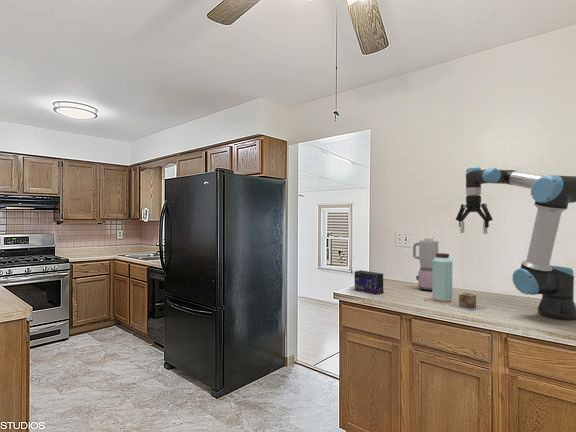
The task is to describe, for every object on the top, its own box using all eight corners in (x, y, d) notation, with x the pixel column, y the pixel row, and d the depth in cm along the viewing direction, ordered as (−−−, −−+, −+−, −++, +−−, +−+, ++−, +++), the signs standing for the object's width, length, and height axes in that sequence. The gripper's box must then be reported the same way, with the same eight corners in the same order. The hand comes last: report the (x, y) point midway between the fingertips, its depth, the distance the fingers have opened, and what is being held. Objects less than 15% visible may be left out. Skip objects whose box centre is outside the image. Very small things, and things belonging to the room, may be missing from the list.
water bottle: (454, 302, 185) (454, 255, 185) (434, 301, 187) (434, 254, 187) (449, 298, 195) (450, 253, 195) (430, 297, 197) (430, 252, 197)
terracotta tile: (460, 303, 188) (460, 301, 188) (444, 305, 182) (444, 304, 182) (439, 298, 200) (439, 296, 200) (423, 300, 194) (423, 299, 194)
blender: (441, 289, 224) (441, 238, 224) (436, 292, 214) (436, 239, 214) (415, 286, 233) (416, 237, 233) (410, 289, 223) (410, 238, 224)
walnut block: (476, 306, 178) (476, 294, 178) (471, 308, 174) (471, 296, 174) (463, 304, 182) (463, 292, 182) (459, 306, 178) (459, 294, 178)
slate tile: (488, 309, 175) (488, 307, 175) (471, 312, 169) (471, 311, 169) (464, 303, 187) (464, 302, 187) (447, 306, 180) (447, 305, 180)
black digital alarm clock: (354, 290, 220) (354, 271, 220) (360, 289, 225) (360, 270, 225) (377, 294, 208) (377, 274, 208) (383, 293, 212) (383, 273, 212)
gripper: (499, 194, 190) (499, 234, 190) (457, 196, 212) (457, 232, 212) (491, 193, 186) (491, 234, 186) (449, 196, 208) (449, 232, 208)
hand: (473, 233), depth 199 cm, fingers open, 13 cm apart
